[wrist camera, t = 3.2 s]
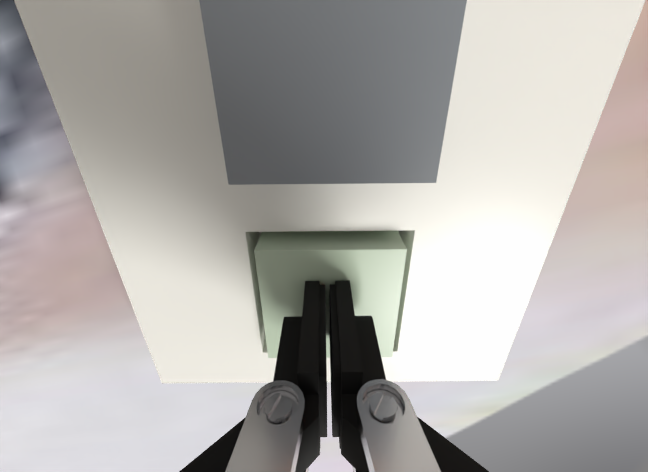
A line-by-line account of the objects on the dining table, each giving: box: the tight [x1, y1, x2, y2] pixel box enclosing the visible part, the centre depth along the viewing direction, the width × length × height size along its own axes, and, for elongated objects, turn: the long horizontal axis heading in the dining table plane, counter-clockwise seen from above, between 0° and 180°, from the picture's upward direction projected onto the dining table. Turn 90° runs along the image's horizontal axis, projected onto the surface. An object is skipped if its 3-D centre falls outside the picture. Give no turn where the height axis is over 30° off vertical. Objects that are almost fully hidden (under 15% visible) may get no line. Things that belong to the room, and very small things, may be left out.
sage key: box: [254, 231, 407, 358], centre depth 12 cm, size 5×5×2 cm
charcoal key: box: [199, 0, 467, 185], centre depth 7 cm, size 5×5×2 cm
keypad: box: [14, 0, 645, 383], centre depth 10 cm, size 16×26×3 cm, turn 0°
